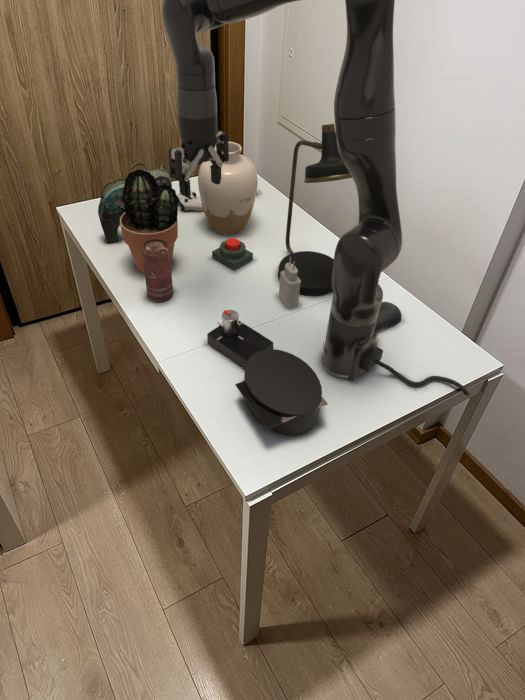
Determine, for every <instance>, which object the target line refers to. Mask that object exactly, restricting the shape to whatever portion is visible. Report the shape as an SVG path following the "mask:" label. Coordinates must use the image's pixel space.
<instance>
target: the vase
mask: <svg viewBox="0 0 525 700" xmlns="http://www.w3.org/2000/svg"><path fill="white" fill-rule="evenodd" d="M214 150H215V151H216V146H215V148H214ZM228 150H229V160H228V161H227V162H224V163H223V166H222V167H221V183H220V184H218V185H217V184H214V183H212V181H211V165H212V163H211V162H210V161H207V162H203V163H201V164H200V165H199V168H198V176H197V187H198V193H199V198H200V203H202V207H203V210H202V211H203V213H204V216H205V218H206V220H207V222H208V224H209V226H210V228H211V230H213V231H214V232H215V233H217V234H220V235H227V236H228V235H229V236H230V235H237V234H239V233H241V232H242V231H243V230H244V229H245V228H246V226H247V224H248V222H249V220H250V218H251V215H252V213H253V209H254V206H255V203H256V199H257V198H256V197H257V194H256V192H258V191H257V190H258V184H257V182H258V173H257V169H256V166H255V164H254V162H253V161H252V160H251V159H250V158H249V157H247V156H245V155H243V154H241V153H242V150H243V148H242V145H241V144H239V143H238V142H234V141H228ZM216 153H217V151H216ZM222 154H223V151H222Z"/></svg>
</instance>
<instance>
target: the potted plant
mask: <svg viewBox="0 0 525 700" xmlns="http://www.w3.org/2000/svg"><path fill="white" fill-rule="evenodd" d="M144 170H145V169H140V168H138V169H136V170H134V171H131V172H129V173H128V174H127V176H126V177H125V179H126V180H124V181H125V185H124V189H123V195H122V196H123V200H124V206H125V213H123V214H122V216H121V217H120V226H119V227H120V229H121V230H120V231H121V235H122V240H123V242H124V243H125V245H127V246H128V249H129V250H130V254H131V256H132V259H133V261H134V264H135V266H136V268H137V270H138V271H139V272H141V273H144V266H143V258H142V247H143V244H144V243H145V242H146V241H148V240H152V239H160V240H163V241H165V242H166V243H167V245H168V246H169V251H170V262H171V264H172V261H173V257H174V256H173V255H174V249H175V242H176V241H177V239H178V238H179V232H178V231H179V228H178V227H179V226H178V213H179V212H178V211H179V202H178V199H177V192H176V189H174V188H173V187H172V188H171V187H170V186H168V185H167V184H163V185H161V186H158V184H157V182H156V180H155V178H154V176H153V175H151V174H150V171H149V172H147V171H148V170H147V171H144Z"/></svg>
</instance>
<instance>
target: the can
mask: <svg viewBox="0 0 525 700" xmlns="http://www.w3.org/2000/svg"><path fill="white" fill-rule="evenodd" d="M142 258H143V266H144V272H143V273H144V281H145V288H146V295H147V297H148V299H149V300H150V301H152V302H154V303H165V302H168V301H170V300H171V298H172V297H173V296H174V286H173V284H174V283H173V274H172V263H171V262H170V251H169V246H168V245H167V243H166V242H165V241H163V240H160V239H152V240H148V241H146V242H145V243H144V244H143V247H142Z"/></svg>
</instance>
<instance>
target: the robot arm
mask: <svg viewBox="0 0 525 700" xmlns="http://www.w3.org/2000/svg"><path fill="white" fill-rule="evenodd" d="M299 1H301V0H162V4H161V18H162V24H163V27H164V30H165V34H166V36H167V39H168V43H169V46H170V49H171V52H172V55H173V58H174V62H175V74H176V108H177V110H176V111H177V121H178V133H179V136H180V139H181V145H180V147H177V148H175V147H169V149H168V163H169V164H168V165H169V167H168V168H169V177H170V179H174V180H175V181H177V182H178V187H179V193H181V194H182V195H183V196H185V197H187V198H188V197H191V191H192V190H191V180H190V179H191V176H192V173H193V172H195V171H196V169H197V167H198V166H201V164H202V163H203V162H207V161H210V162H211V163H212V165H211V181H212V183H214V184H217V185H218V184H220V183H221V167H222V166H223V163H224V162H227V161H228V160H229V150H228V142H229V135H228V133H226V132H223V131H221V130H219V128H218V126H219V125H218V98H217V91H216V72H215V71H216V70H215V56H214V54H213V52H212V51H211V50H210V49H208V48H207V47H205V46H199V43H198V40H197V34H200V33H203V32H207V31H211V30H214V29H218V28H220V27H222V26H224V25H228V24H233V23H234V24H235V23H238V22H242V21H245V20H248V19H251V18H255V17H258V16H261V15H263V14H266V13H268V12H270V11H272V10H274V9H277V8H278V7H280V6H283V5H286V4H288V3H294V2H299ZM344 2H345V3H344V4H345V15H346V17H345V18H346V41H345V50H344V54H343V59H342V62H341V67H340V71H339V74H338V78H337V83H336V88H335V93H334V101H333V116H334V126H335V132H336V141H337V147H338V150H339V153H340V156H341V158H342V160H343V162H344V164H345V166H346V168H347V169H348V171H349V173H350V174H351V176H352V178H351V179H352V180H353V182H354V184H355V187H356V192H357V198H358V222H357V224H356V225H355V226H354V227H352V228H351V229H349V230H348V231H346V232H345V233H344V234H342V235H341V237H340V238H338V239H339V240H338V241H337V242H336V246H335V250H334V255H333V259H334V262H333V271H332V289H333V292H332V293H333V294H332V300H331V306H330V311H329V318H328V322H327V328H326V334H325V340H324V341H323V342H322V349H323V350H322V355H321V360H320V361H321V365H322V367H323V369H324V370H325V371H326V372H327V373H328V374H329V375H331V376H333V377H335V378H338V379H343V380H344V379H345V380H349V381H351V382H354V381H355V380H356V379H357V378H359V377H360V376H361V375H363V373H364V372H366V373H369V371H371V370H372V369H373V368H374V367H375V366H376V365H378V366H379V367H381V368H383V369H384V370H386V371H388V372H390V373H391V374H392V375H393V376H395V377H396V378H398V379H399V380H400V381H402V382H403V383H405V384H407V385H409V386H412V387H423V386H425V385H426V384H428V383H430V382H432V381H440V382H445V383H448V384H450V385H453V386H455V387H456V388H457V389H459V390H460V391H461V392H462V393H463V394H464V395H465V396H470V392H469V390H467V389H466V387H465V386H464V385H463V384H461V383H460V382H458V381H456V380H454V379H452V378H449V377H445V376H440V375H431V376H428V377H426V378H424V379H423V380H421V381H414V380H413V381H412V380H410V379H408V377H406V376H404V375H403V374H401V373H400V372H398V371H397V370H396V369H395V368H393V367H392V366H390V365H389V364H386V363H385V362H383V361H381V360H382V357H383V353H384V349H382V348H381V347H379V346H377V345H376V344H375V342H376V338H378V333H377V332H374V330H375V326H376V322H377V318H378V314H379V310H380V306H381V303H382V302H383V299H384V291H383V288H382V286H381V285H380V282H379V281H380V277H381V274H382V273H383V272H384V270H386V269H387V268H388V267H389V266H390V265H392V264H393V263H395V261H396V260H397V259H398V257H399V256H400V254H401V251H402V249H403V248H402V247H403V230H402V222H401V216H400V215H401V214H400V208H399V200H398V190H397V159H396V158H397V157H396V156H397V154H396V134H397V133H396V128H397V127H396V124H397V123H396V122H397V121H396V99H395V55H394V19H395V18H394V17H395V4H396V3H395V2H396V0H344ZM215 146H216V151H217V153H216V151H215V150H214V148H215ZM222 151H223V154H222ZM188 162H189V163H190V164H188Z"/></svg>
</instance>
